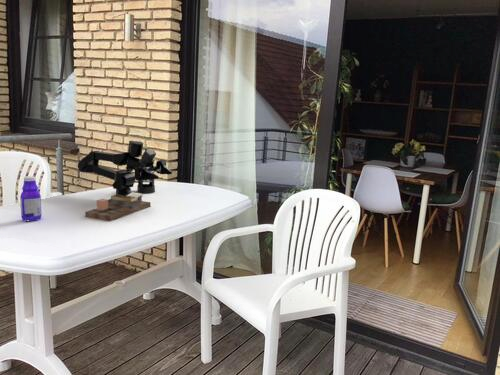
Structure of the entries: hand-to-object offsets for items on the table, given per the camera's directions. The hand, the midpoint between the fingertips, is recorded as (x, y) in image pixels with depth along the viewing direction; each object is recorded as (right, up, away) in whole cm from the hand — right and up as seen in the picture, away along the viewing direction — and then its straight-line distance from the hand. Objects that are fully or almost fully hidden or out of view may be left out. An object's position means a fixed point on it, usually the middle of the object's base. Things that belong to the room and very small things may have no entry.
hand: (165, 175), depth 204 cm
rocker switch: (-15, -10, +3) cm, 18 cm away
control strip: (-19, -16, -5) cm, 25 cm away
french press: (-16, -8, +36) cm, 40 cm away
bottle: (-49, -19, -23) cm, 57 cm away
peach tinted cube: (-24, -15, -11) cm, 31 cm away
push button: (-18, -12, -3) cm, 22 cm away
